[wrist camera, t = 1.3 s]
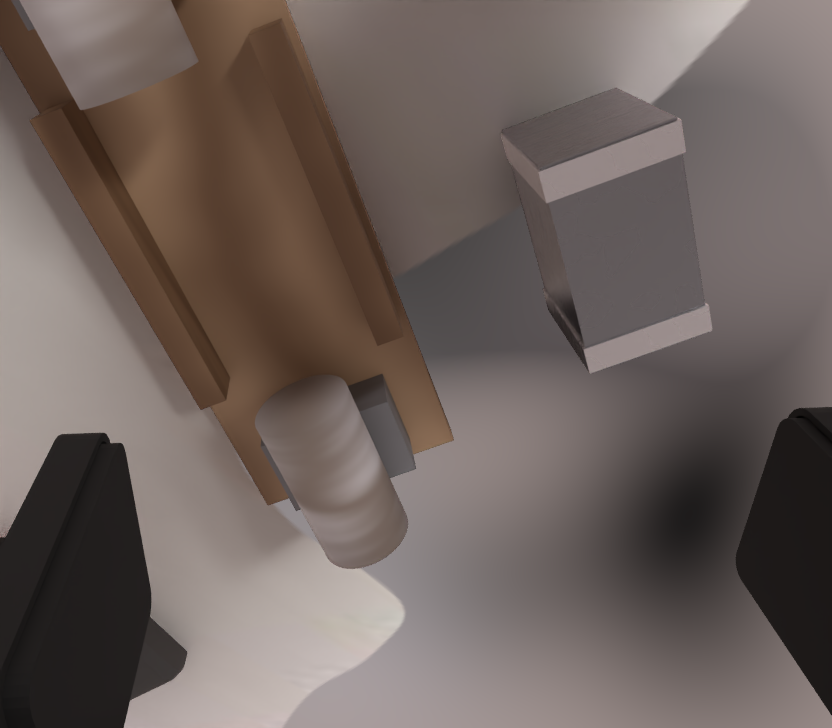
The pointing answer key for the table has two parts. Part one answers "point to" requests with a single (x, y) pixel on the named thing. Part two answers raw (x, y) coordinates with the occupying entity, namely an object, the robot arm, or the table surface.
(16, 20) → the coupling rig
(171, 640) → the usb drive
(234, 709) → the table surface
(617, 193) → the block
